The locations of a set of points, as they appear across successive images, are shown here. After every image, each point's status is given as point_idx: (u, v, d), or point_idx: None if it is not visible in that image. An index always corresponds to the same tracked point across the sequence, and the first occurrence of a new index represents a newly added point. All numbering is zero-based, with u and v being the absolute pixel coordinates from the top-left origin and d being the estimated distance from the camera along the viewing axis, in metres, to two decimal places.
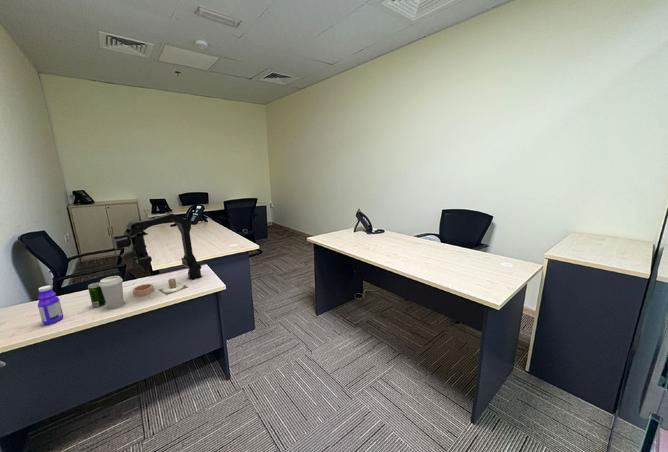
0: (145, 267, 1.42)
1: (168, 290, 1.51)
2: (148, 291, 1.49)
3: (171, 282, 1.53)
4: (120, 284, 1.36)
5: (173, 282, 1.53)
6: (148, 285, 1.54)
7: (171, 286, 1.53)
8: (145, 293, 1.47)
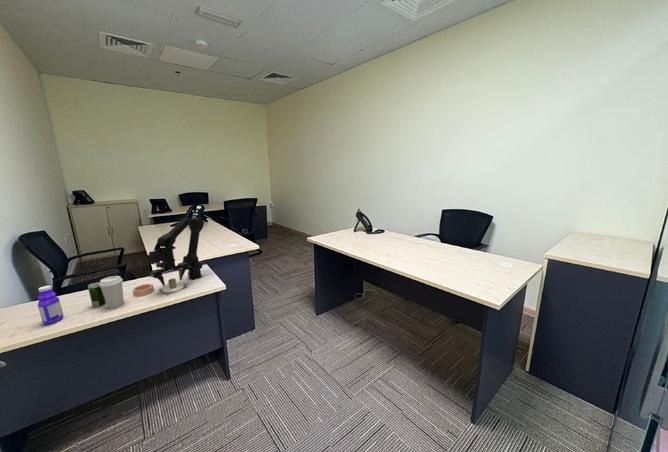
0: (160, 281, 1.49)
1: (168, 290, 1.51)
2: (148, 291, 1.49)
3: (171, 282, 1.53)
4: (120, 284, 1.36)
5: (173, 282, 1.53)
6: (148, 285, 1.54)
7: (171, 286, 1.53)
8: (145, 293, 1.47)
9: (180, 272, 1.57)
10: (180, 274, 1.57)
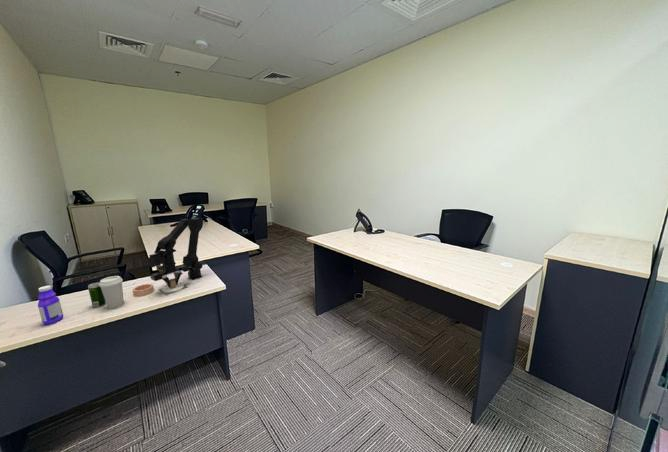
0: (166, 282, 1.52)
1: (168, 290, 1.51)
2: (148, 291, 1.49)
3: (171, 282, 1.53)
4: (120, 284, 1.36)
5: (173, 282, 1.53)
6: (148, 285, 1.54)
7: (171, 286, 1.53)
8: (145, 293, 1.47)
9: (176, 276, 1.55)
10: (176, 278, 1.55)
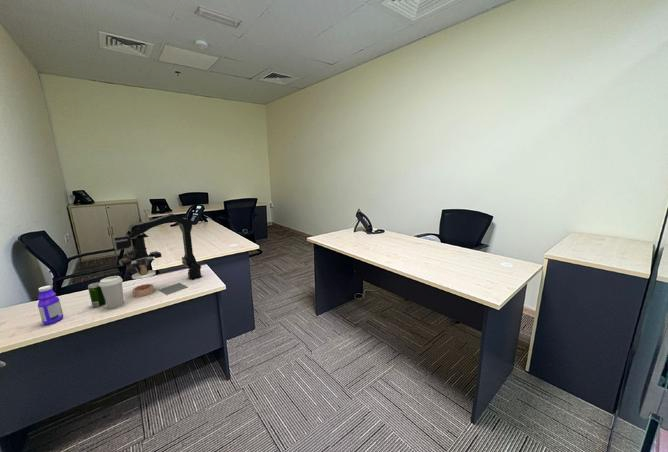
0: (136, 268, 1.45)
1: (138, 276, 1.45)
2: (148, 291, 1.49)
3: (141, 268, 1.46)
4: (120, 284, 1.36)
5: (144, 268, 1.47)
6: (148, 285, 1.54)
7: (141, 272, 1.47)
8: (145, 293, 1.47)
9: (147, 263, 1.49)
10: (147, 265, 1.49)
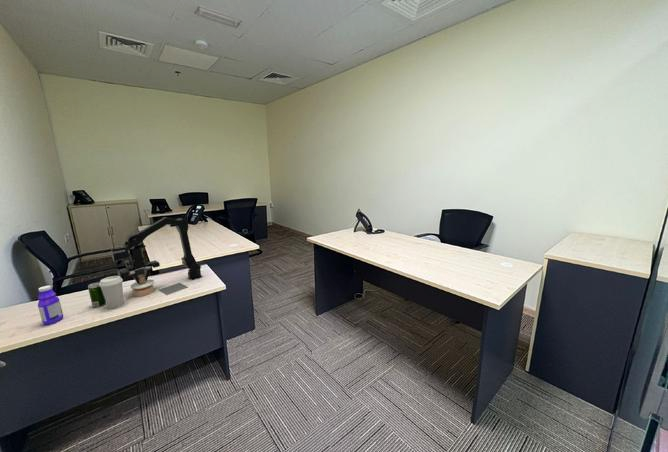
0: (134, 278, 1.46)
1: (136, 286, 1.46)
2: (148, 291, 1.49)
3: (140, 278, 1.47)
4: (120, 284, 1.36)
5: (142, 278, 1.48)
6: None
7: (140, 282, 1.48)
8: (145, 293, 1.47)
9: (145, 272, 1.50)
10: (145, 274, 1.50)
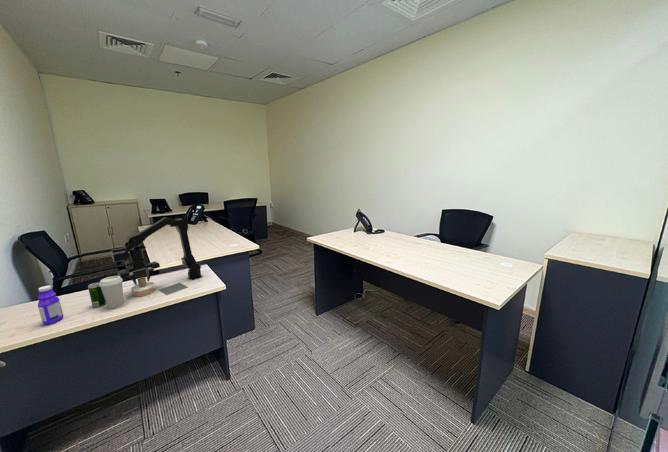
0: (132, 280, 1.46)
1: (137, 289, 1.46)
2: (148, 291, 1.49)
3: (140, 281, 1.48)
4: (120, 284, 1.36)
5: (142, 281, 1.48)
6: None
7: (140, 285, 1.48)
8: (145, 293, 1.47)
9: (147, 273, 1.51)
10: (147, 275, 1.51)
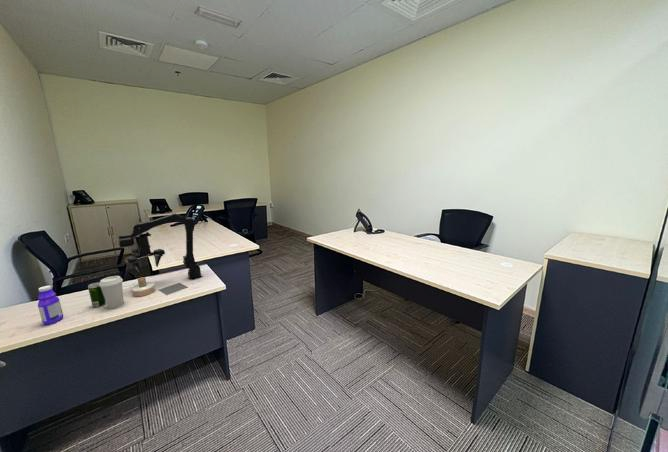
0: (135, 267, 1.50)
1: (137, 289, 1.46)
2: (148, 291, 1.49)
3: (140, 281, 1.48)
4: (120, 284, 1.36)
5: (142, 281, 1.48)
6: None
7: (140, 285, 1.48)
8: (145, 293, 1.47)
9: (156, 258, 1.58)
10: (156, 260, 1.58)
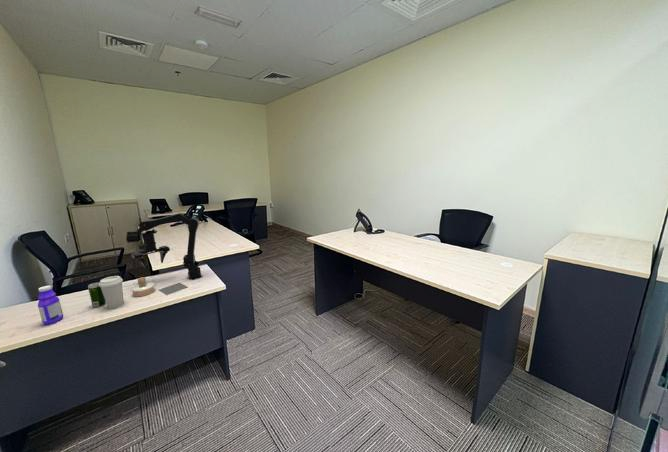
0: (141, 262, 1.56)
1: (137, 289, 1.46)
2: (148, 291, 1.49)
3: (140, 281, 1.48)
4: (120, 284, 1.36)
5: (142, 281, 1.48)
6: None
7: (140, 285, 1.48)
8: (145, 293, 1.47)
9: (161, 255, 1.64)
10: (161, 257, 1.64)
